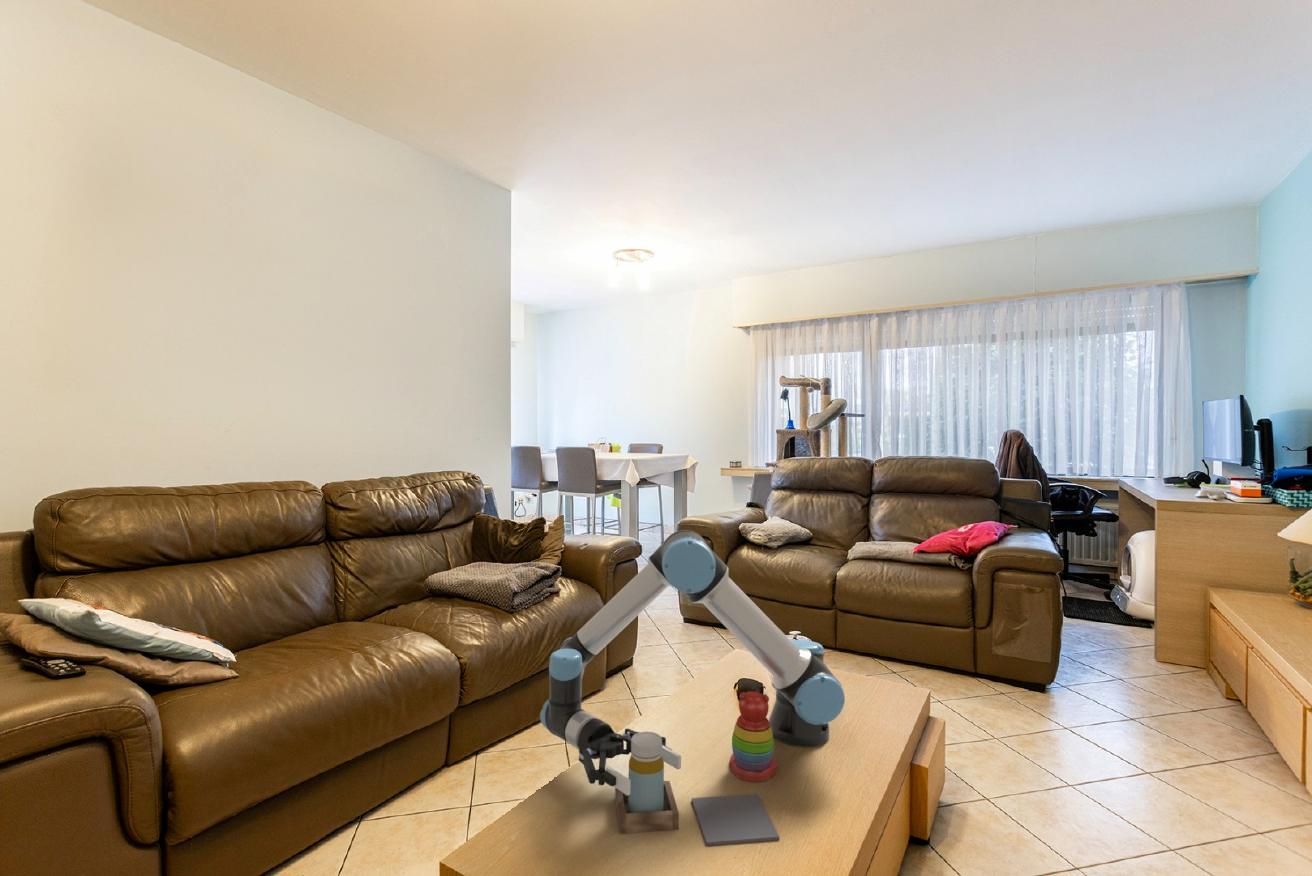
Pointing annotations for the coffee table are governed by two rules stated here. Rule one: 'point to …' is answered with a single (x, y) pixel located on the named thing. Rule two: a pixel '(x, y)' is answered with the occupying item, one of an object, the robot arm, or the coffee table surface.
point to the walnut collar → (648, 814)
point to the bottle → (646, 773)
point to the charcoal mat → (734, 819)
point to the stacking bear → (753, 740)
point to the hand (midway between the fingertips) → (655, 774)
